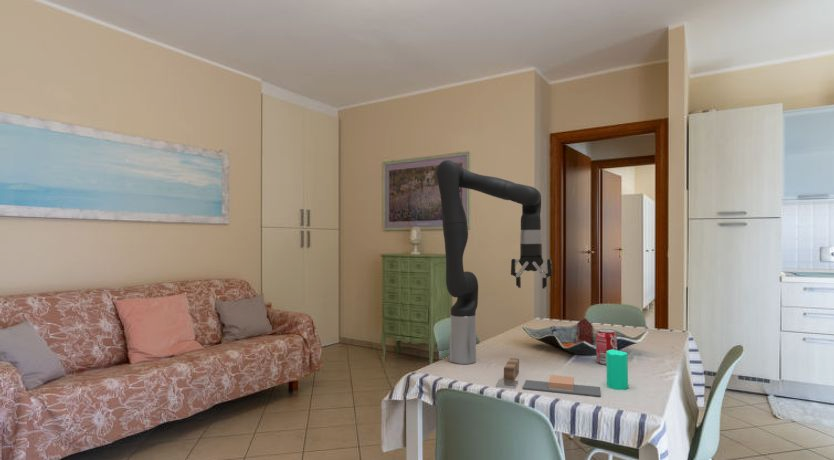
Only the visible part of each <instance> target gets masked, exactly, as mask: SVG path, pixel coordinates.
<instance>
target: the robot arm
mask: <svg viewBox="0 0 834 460" xmlns="http://www.w3.org/2000/svg"><path fill="white" fill-rule="evenodd" d="M435 173H436V180H437V184H438V190H439V194H440V202H441V203H440V204H441V217H442V220H441V221H442V232H443V238H444V250H445V251H444V253H445V285H446V290H447V292H448V293H449V295H450V296H451V297H453V298H456V302H455V303H454V304H453V305H452V306H451V308H450V335H449V337H448V339H449V341H448V343H449V345H448V346H449V354H448V355H449V359H448V360H449V362H450V363H453V364H459V365H469V364H471V365H472V364H475V362H477V344H476V343H477V342H476V341H477V340H476V339H477V334H476V333H477V332H476V330H477V327H476V325H477V323H476V314H477V313H476V311H477V309H478V305H479V304H478V303H479V301H478V300H479V282H478V278H477V276H476V275H475V274H474V273H473V272H471V271H464V260H463V259H464V253H465V250H466V247H467V243H468V238H469V230H468V228H469V227H468V219H467V215H466V212H465V209H464V205H463V202H462V200H461V199H462V198H461V195H460V188H461V189H468V190H473V191H476V192H480V193H483V194H485V195H488V196H491V197H494V198H498V199H502V200H505V201H511V202H513V203H517V204H519V205H521V208H522V209H521V210H522V211H521V214H522V215H521V217H520V235H519V241H520V242H519V245H520V247H519V248H520V250H519V252H520V257H519V259H518V258H517V259H516V258H511V263H510V275H511V276H513V277H514V278H515V284H516V287H517V288H518V289H521V288H522V287H521V286H522V283H521V282H522V281H521V279H522V277H521V275H522V274H523V273H524V272H525V271H526V272H530V271H531V272H538V273H539V274H540V275H541V276H542V279H541V280H542V281H541V282H542V283H541V287H542V289H546V288H547V286H548V278H549V277H552V275H553V268H552V267H553V266H552V259H550V258H548V259H543V250H542V249H543V246H542V244H543V243H542V242H543V240H542V238H543V237H542V229H541V228H542V227H541V226H542V225H541V224H542V223H541V222H542V221H541V220H542V219H541V211H542V210H541V209H542V194H541V192H540V191H539V190H538V189H537V188H536V187H534V186H531V185H525V184H521V183H515V182H513V181H510V180H507V179H503V178H500V177H495V176H489V175H483V174H478V173H474V172H473V171H470V170H468V169H466V168H463V167H461V165H459V164H458V163H457V162H455V161H453V160H449V159H448V160H447V159H446V160H443V161H442V162H441V161H440V163H439V164H438V166H437V168H436V172H435ZM518 264H519V265H520V266H521V267H520V269H519V270H518V272H516V266H517V265H518ZM543 264H544V265H545V266H547V272H545V271H544V269H543V268H542V265H543Z"/></svg>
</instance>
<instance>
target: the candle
mask: <svg viewBox="0 0 834 460" xmlns="http://www.w3.org/2000/svg"><path fill="white" fill-rule="evenodd" d="M628 359H629V357H628V353H627V352H625V351H621V350H618V349H617V350H608V351H606V365H605V366H606V386H607V388H610V389H613V390H619V391H620V390H621V391H622V390H623V391H624V390H627V389H629V372H628V371H629V368H628V367H629V365H628V363H629V361H628Z"/></svg>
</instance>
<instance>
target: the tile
mask: <svg viewBox="0 0 834 460" xmlns="http://www.w3.org/2000/svg"><path fill="white" fill-rule="evenodd" d="M548 382H549V389H554V390H564V391H573V389H574V385H575V376H566V375H556V374H550V376H549V380H548Z"/></svg>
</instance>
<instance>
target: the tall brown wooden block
mask: <svg viewBox="0 0 834 460" xmlns="http://www.w3.org/2000/svg"><path fill="white" fill-rule="evenodd" d="M518 374H520V358H513V357H509V359H508V361H507V362H506V364H505V365H504V366H503V379H501V378H499V379H498V380H497V382H496V384H495V387H496V388H500V389H501V388H502V389H513V390H516V389H517V387H518V385H519V380H516V378H517V377H518Z"/></svg>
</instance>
